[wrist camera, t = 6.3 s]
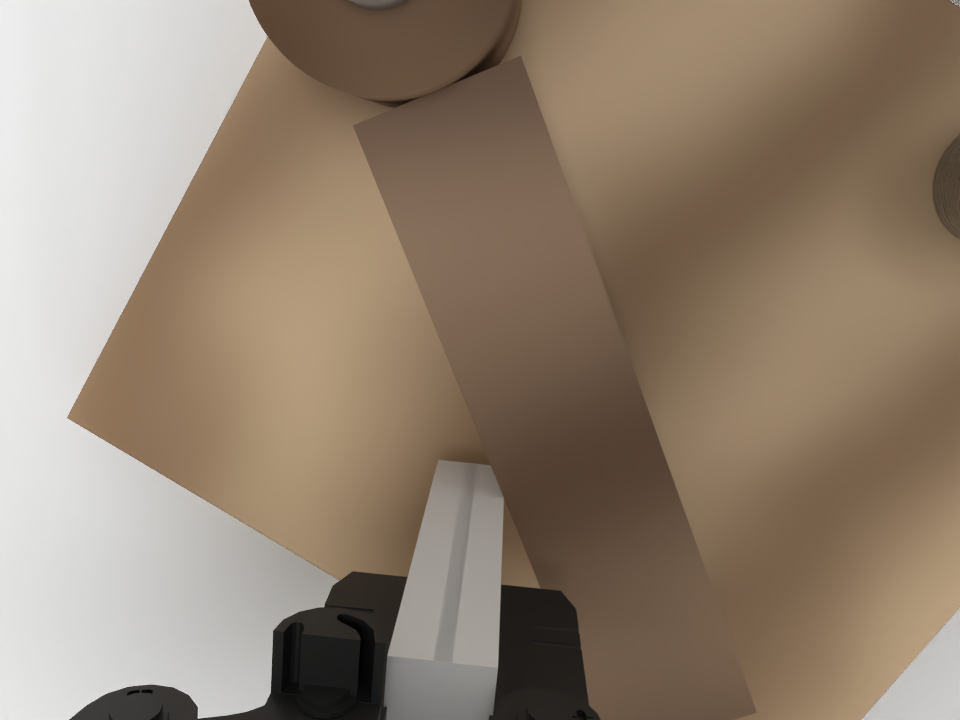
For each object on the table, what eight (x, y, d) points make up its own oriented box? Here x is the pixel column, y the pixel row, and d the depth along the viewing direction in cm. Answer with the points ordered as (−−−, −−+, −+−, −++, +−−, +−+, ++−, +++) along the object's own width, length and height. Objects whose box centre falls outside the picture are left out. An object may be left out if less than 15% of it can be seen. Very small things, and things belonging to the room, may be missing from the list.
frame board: (1234, 231, 17) (1286, 236, 16) (748, 793, 21) (762, 831, 19) (470, -302, 16) (464, -339, 14) (95, 402, 19) (66, 417, 18)
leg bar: (267, -72, 15) (174, -152, 11) (474, -167, 15) (453, -286, 11) (570, 675, 18) (581, 818, 14) (750, 620, 18) (813, 752, 14)
